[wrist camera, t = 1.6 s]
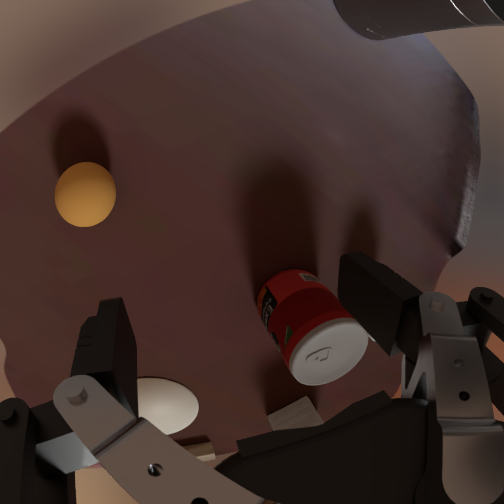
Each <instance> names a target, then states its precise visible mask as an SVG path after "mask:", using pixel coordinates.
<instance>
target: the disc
mask: <svg viewBox="0 0 504 504" xmlns="http://www.w3.org/2000/svg"><path fill="white" fill-rule="evenodd" d="M137 386H138V410H139V417H144V418H145V419H147V420H148V421H149V422H151V423H152V424H153V425H154V426H156V427H157V428H158V429H159V430H161V431H162V432H163V433H164V434H166V435H167V434H171V433H175V432H177V431H180V430H182V429H184V428H185V427H187V426H188V425H190V424H191V423H192V422H193V421H194V419H195V418H196V416H197V414H198V409H199V406H198V401H197V399H196V397H195V395H194V394H193V393H192V392H191V391H190V390H189V389H188V388H186V387H185V386H183V385H181V384H179V383H177V382H174V381H171V380H167V379H161V378H138V379H137Z"/></svg>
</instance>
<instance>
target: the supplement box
mask: <svg viewBox="0 0 504 504" xmlns="http://www.w3.org/2000/svg"><path fill="white" fill-rule="evenodd" d="M267 417H268V420H269V422H270V424H271V427H272V429H273V431H275V430H283V429H294V428H303V427H311V426H318V425H321V424H324V422H323V420H322V419H321V417H320V416H319V414H318V412H317V411H316V409H315V408H314V406H313V404H312V403H311V401H310V399H309V398H308V397H307V396H305V397H303V398H301V399H299V400H297V401H295V402H294V403H292V404H290V405H288V406H286V407H284V408H282V409H280V410H278V411H276V412H274V413H272V414H270V415H268V416H267Z"/></svg>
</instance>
